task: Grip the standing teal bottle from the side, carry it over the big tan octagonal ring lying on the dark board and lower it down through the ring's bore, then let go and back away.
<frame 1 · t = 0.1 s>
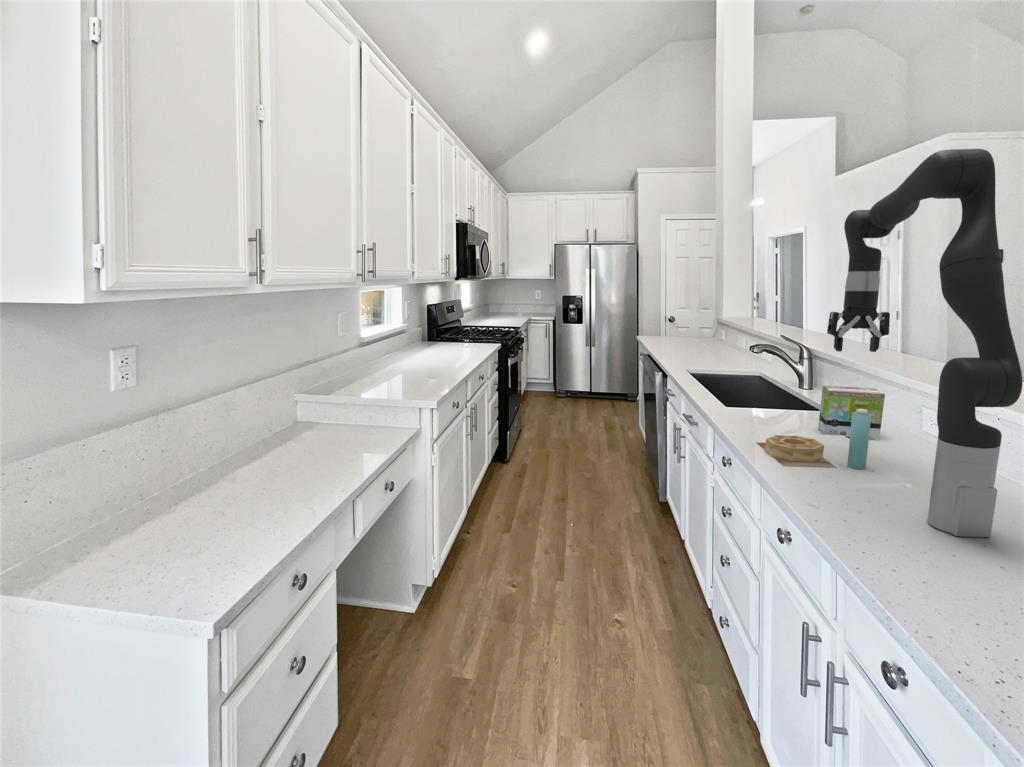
hand: (855, 351, 147), 29 cm above the table, tool pointing down, fingers open, 8 cm apart
teal bottle: (855, 471, 141), on the table
tan octagonal ring: (793, 454, 152), resting on board
tea box: (847, 435, 176), on the table
board: (793, 458, 152), on the table
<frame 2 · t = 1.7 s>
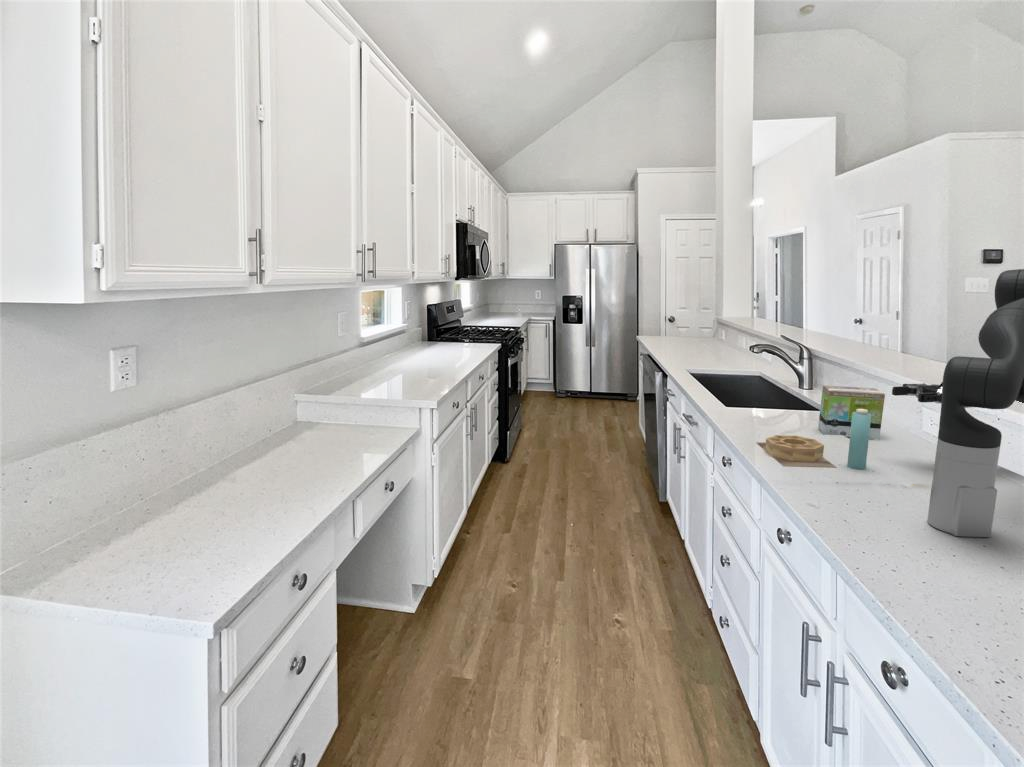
hand: (905, 394, 139), 20 cm above the table, tool horizontal, fingers open, 8 cm apart
nothing on the table moved.
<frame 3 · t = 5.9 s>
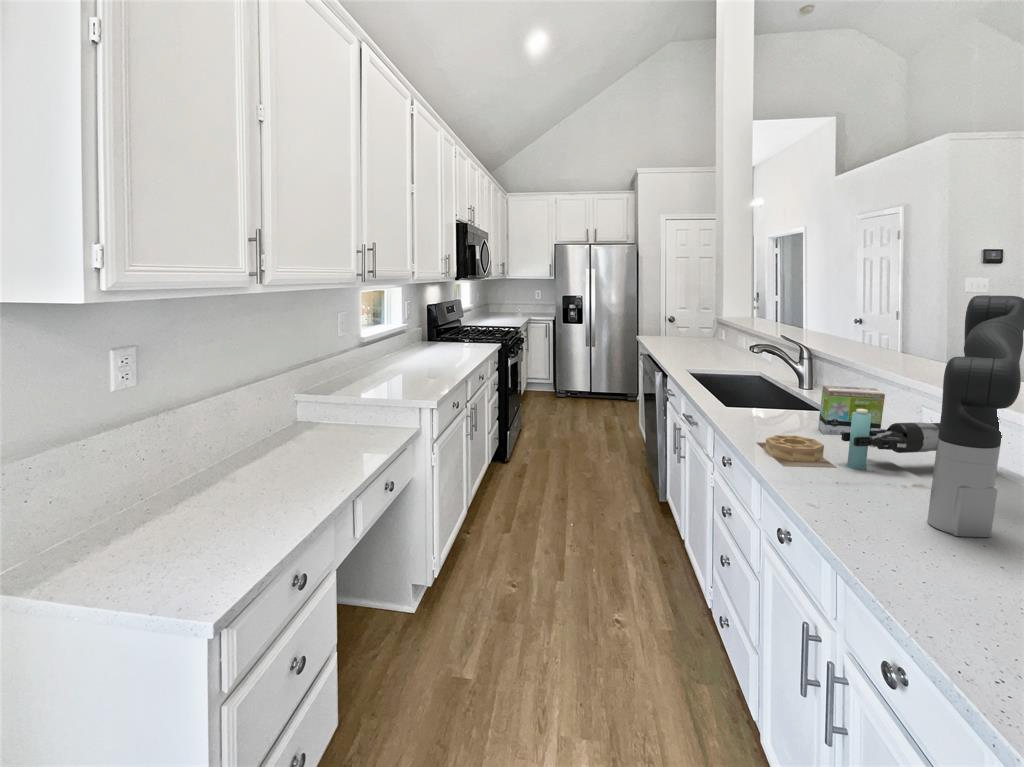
hand: (848, 439, 139), 8 cm above the table, tool horizontal, fingers closed on teal bottle, 4 cm apart
teal bottle: (855, 471, 141), on the table, touching gripper
everything else where it was.
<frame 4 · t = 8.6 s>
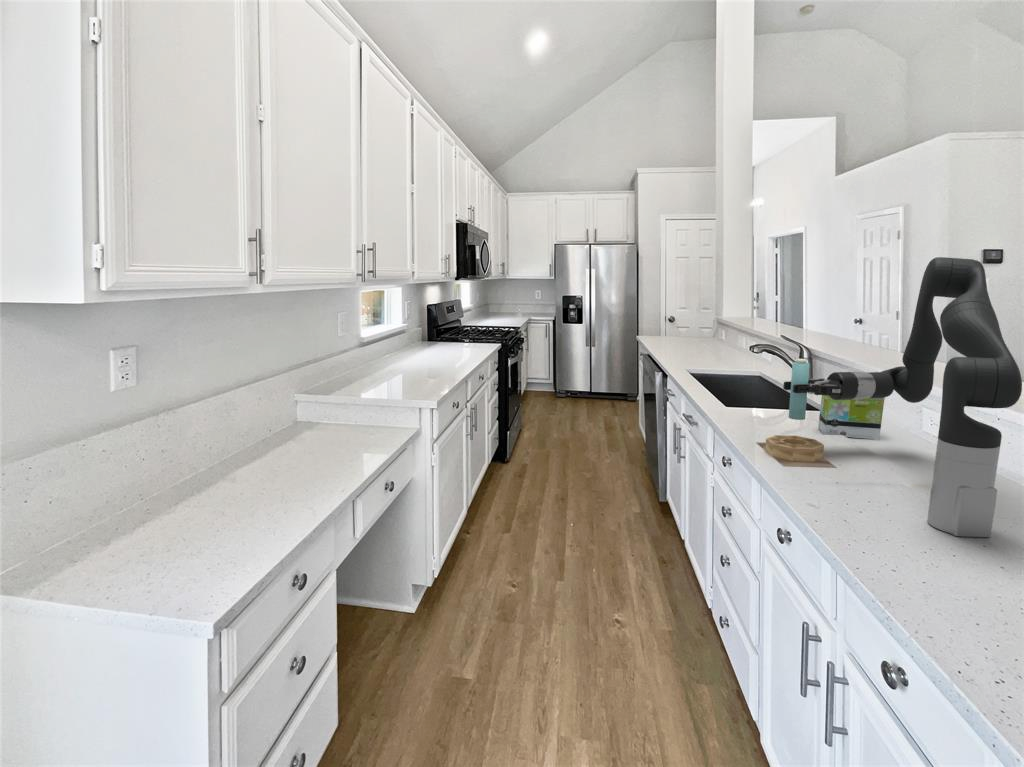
hand: (789, 387, 149), 20 cm above the table, tool horizontal, fingers closed on teal bottle, 4 cm apart
teal bottle: (796, 418, 150), point 11 cm above the table, touching gripper
everything else where it was.
when the fingers open (10 cm above the table, at t = 11.2 s): teal bottle stays where it is, resting on board.
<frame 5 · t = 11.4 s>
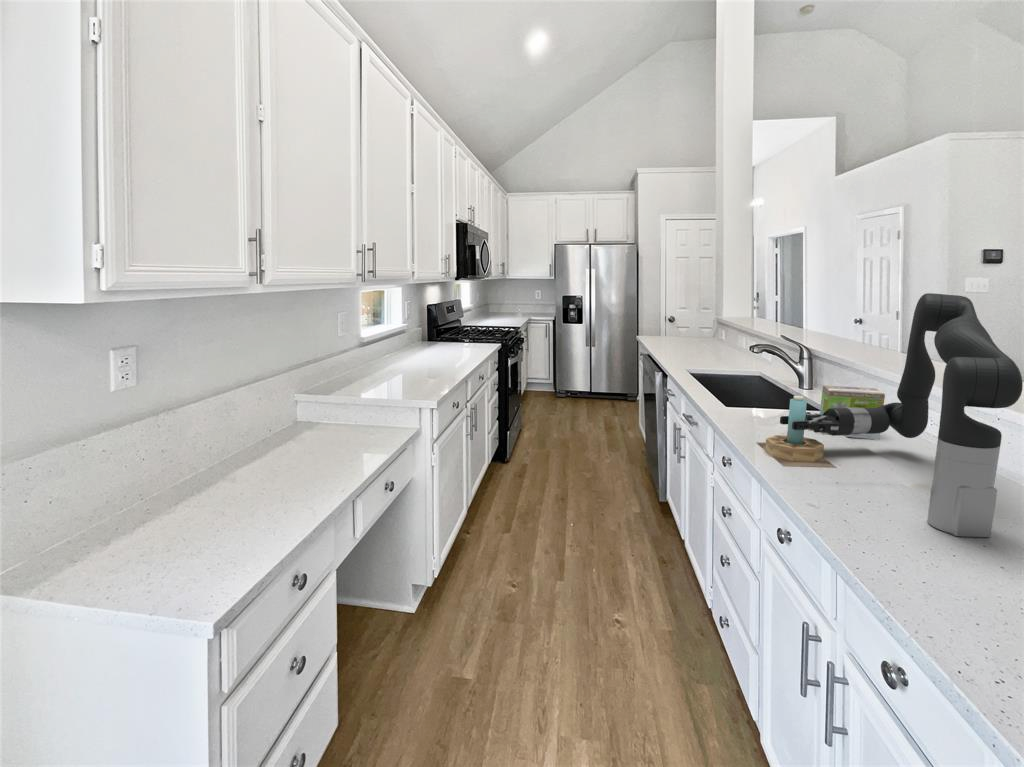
hand: (786, 422, 150), 10 cm above the table, tool horizontal, fingers open, 5 cm apart
teal bottle: (793, 454, 152), point 1 cm above the table, touching board
everything else where it was.
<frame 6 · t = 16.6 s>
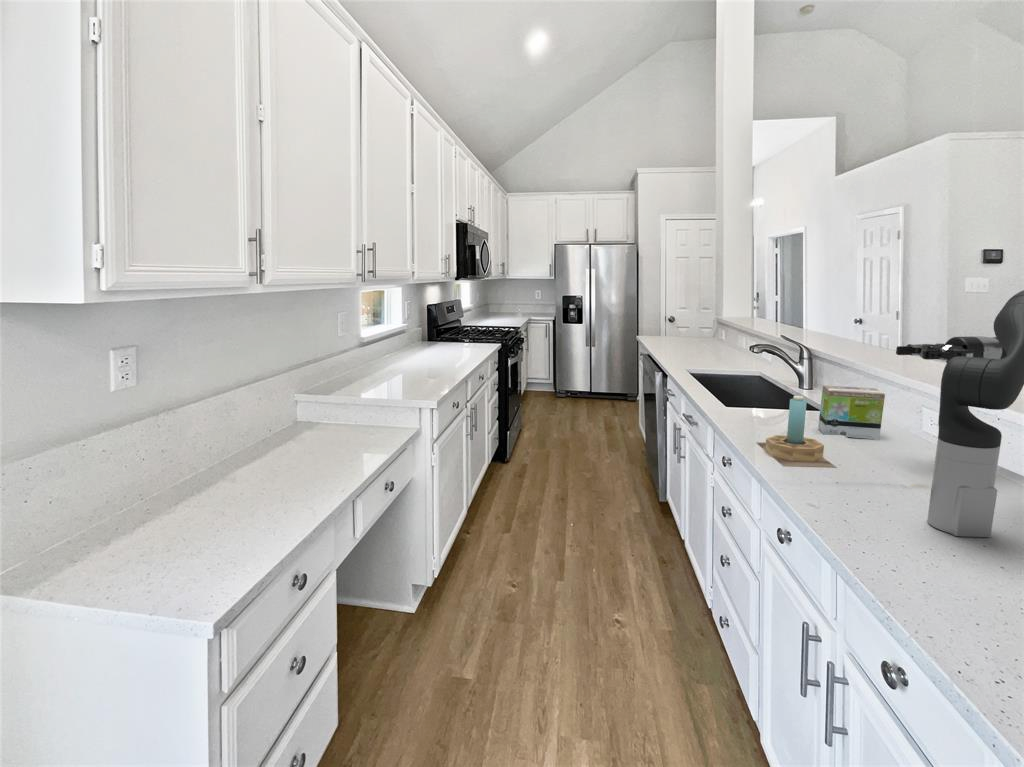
hand: (910, 352, 137), 30 cm above the table, tool horizontal, fingers open, 8 cm apart
nothing on the table moved.
at the end: teal bottle 0.1 cm off-centre on the tan octagonal ring, point 0.0 cm above the tan octagonal ring's base; teal bottle tilted 0°; the gripper is holding nothing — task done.
